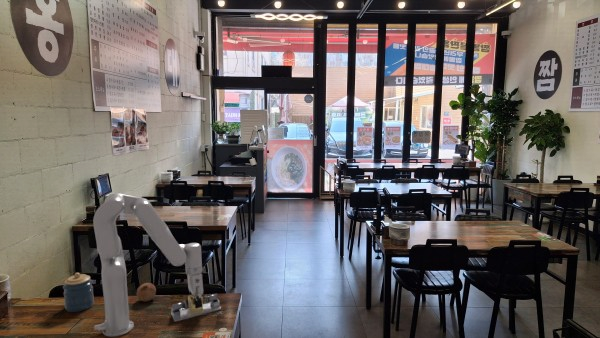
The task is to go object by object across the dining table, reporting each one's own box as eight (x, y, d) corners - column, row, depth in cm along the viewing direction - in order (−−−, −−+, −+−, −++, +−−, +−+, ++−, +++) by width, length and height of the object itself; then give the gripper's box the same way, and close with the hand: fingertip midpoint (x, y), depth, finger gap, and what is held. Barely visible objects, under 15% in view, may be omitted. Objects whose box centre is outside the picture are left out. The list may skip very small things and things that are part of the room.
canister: (99, 300, 203) (96, 267, 201) (85, 312, 191) (82, 277, 188) (74, 300, 204) (71, 268, 202) (59, 312, 191) (55, 278, 189)
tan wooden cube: (203, 310, 188) (202, 296, 187) (191, 313, 185) (190, 299, 184) (199, 306, 193) (199, 292, 192) (188, 309, 190) (187, 295, 189)
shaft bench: (174, 321, 180) (174, 307, 179) (170, 314, 187) (170, 300, 186) (220, 309, 191) (220, 295, 190) (215, 303, 198) (214, 289, 197)
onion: (147, 308, 200) (143, 295, 194) (134, 300, 203) (130, 288, 198) (161, 295, 207) (158, 282, 201) (148, 288, 210) (145, 275, 205)
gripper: (207, 273, 181) (209, 308, 183) (196, 262, 196) (198, 295, 198) (191, 277, 177) (193, 312, 179) (181, 265, 192) (183, 298, 194)
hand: (195, 303), depth 188 cm, fingers open, 9 cm apart
